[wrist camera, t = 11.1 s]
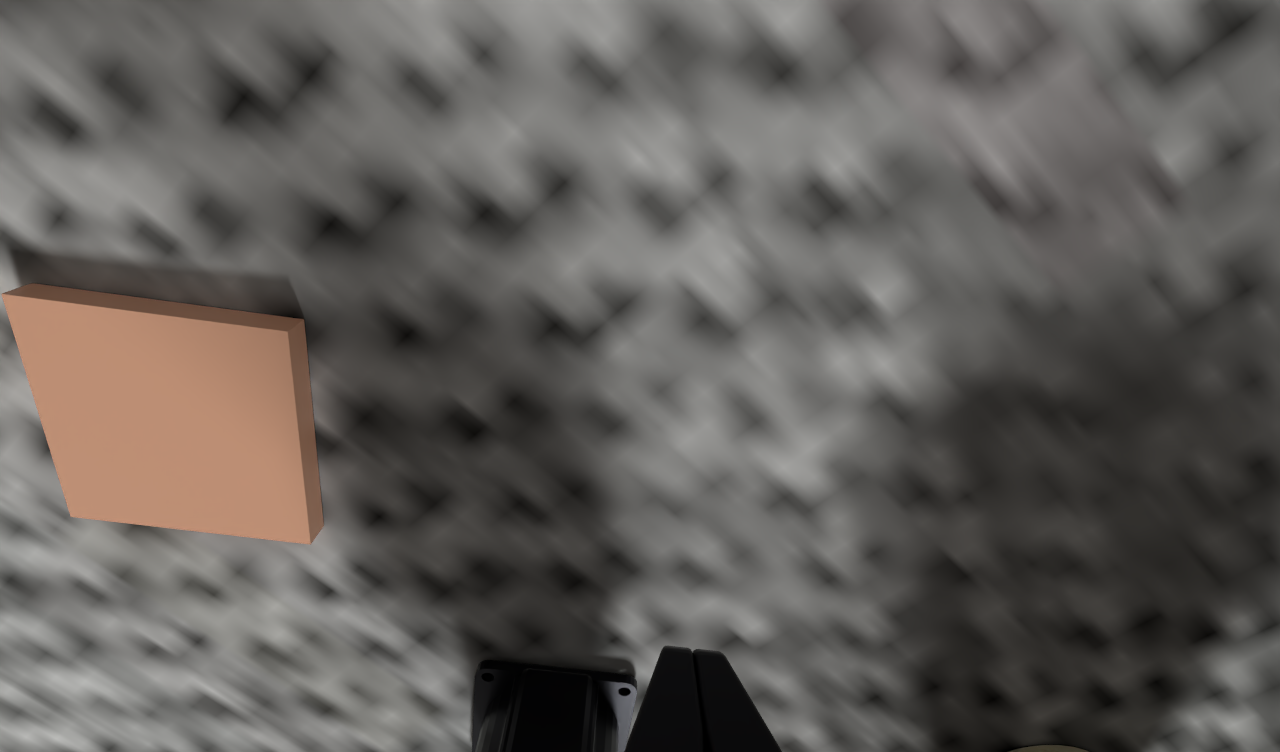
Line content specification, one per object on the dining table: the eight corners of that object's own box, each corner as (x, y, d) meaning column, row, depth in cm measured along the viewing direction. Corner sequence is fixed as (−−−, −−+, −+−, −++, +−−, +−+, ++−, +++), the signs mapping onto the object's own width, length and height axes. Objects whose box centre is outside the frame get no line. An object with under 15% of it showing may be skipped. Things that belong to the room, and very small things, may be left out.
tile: (323, 525, 23) (310, 544, 22) (93, 498, 23) (70, 516, 22) (304, 319, 20) (287, 331, 19) (31, 282, 19) (1, 293, 18)
